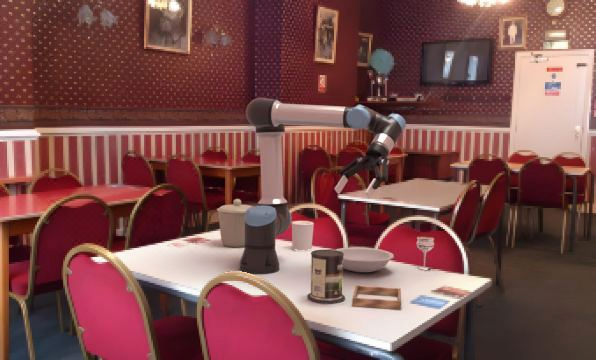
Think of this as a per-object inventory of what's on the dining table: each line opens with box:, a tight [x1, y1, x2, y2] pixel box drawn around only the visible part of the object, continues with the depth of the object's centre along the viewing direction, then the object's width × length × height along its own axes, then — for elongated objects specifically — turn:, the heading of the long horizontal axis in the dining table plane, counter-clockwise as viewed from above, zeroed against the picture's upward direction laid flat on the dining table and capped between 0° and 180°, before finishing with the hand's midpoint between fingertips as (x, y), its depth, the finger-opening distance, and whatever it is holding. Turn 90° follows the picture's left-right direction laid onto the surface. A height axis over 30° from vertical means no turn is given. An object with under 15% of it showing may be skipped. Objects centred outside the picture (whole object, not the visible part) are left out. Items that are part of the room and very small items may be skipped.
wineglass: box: [416, 236, 435, 268], centre depth 225 cm, size 7×7×12 cm
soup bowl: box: [334, 246, 394, 273], centre depth 219 cm, size 24×24×7 cm
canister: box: [216, 198, 254, 248], centre depth 260 cm, size 18×18×21 cm
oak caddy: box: [351, 285, 402, 311], centre depth 181 cm, size 15×15×2 cm
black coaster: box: [306, 292, 346, 305], centre depth 183 cm, size 12×12×1 cm
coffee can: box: [310, 249, 344, 301], centre depth 182 cm, size 10×10×14 cm
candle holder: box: [291, 220, 315, 250], centre depth 255 cm, size 10×10×12 cm
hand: (351, 193), depth 198 cm, fingers open, 13 cm apart
